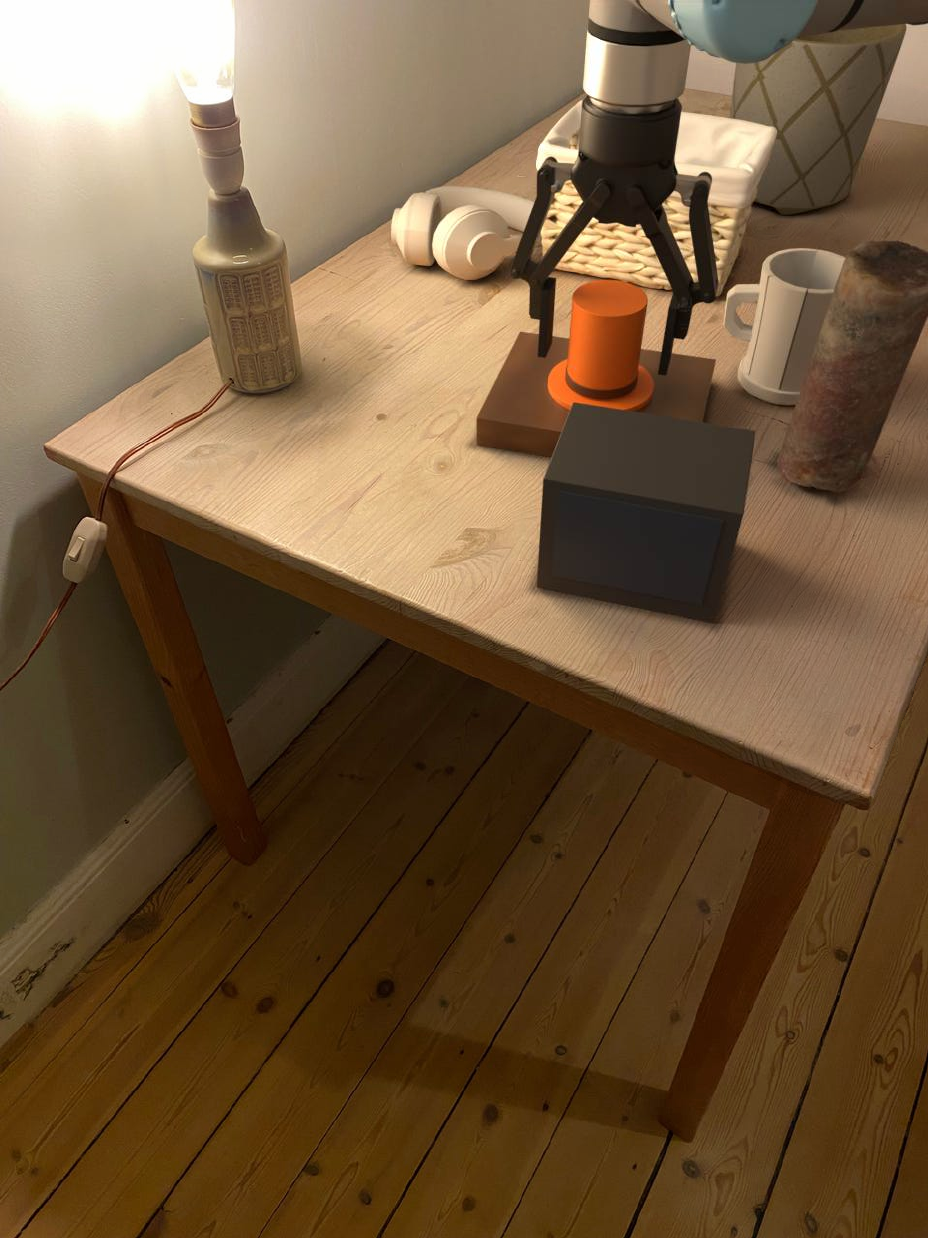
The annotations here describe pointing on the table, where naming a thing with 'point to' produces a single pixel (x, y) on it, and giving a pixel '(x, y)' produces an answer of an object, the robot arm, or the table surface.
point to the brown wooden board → (536, 420)
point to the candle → (857, 365)
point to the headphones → (460, 229)
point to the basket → (701, 147)
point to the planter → (816, 111)
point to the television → (643, 510)
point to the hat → (604, 349)
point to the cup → (783, 321)
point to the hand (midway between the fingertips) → (603, 358)
